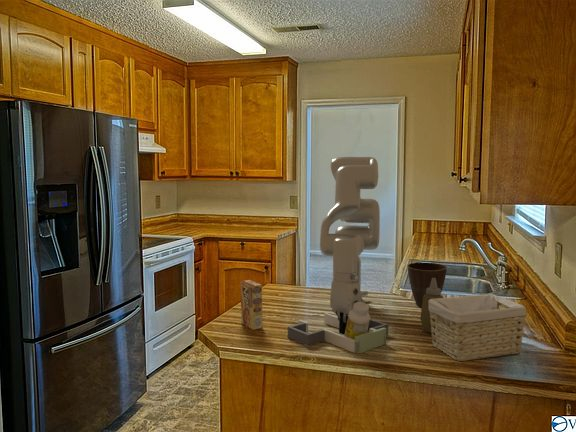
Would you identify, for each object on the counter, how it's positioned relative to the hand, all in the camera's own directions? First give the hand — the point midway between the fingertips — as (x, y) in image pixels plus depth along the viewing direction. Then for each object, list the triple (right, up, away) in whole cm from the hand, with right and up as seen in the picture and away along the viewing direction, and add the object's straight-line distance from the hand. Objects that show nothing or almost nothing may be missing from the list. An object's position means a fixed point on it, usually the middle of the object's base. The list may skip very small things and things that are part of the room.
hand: (344, 333), depth 156 cm
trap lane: (-1, -2, +3) cm, 4 cm away
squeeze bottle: (+30, -1, +8) cm, 32 cm away
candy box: (-31, -1, +14) cm, 34 cm away
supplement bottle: (+3, -2, -3) cm, 4 cm away
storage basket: (+38, -3, -8) cm, 39 cm away
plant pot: (+37, +2, +37) cm, 52 cm away
